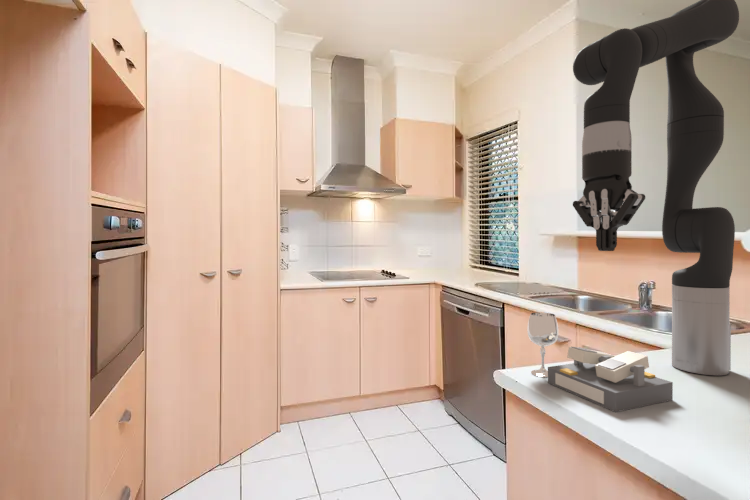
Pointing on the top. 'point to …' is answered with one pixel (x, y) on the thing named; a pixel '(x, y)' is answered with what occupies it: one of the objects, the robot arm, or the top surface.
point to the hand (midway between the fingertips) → (606, 250)
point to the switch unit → (611, 386)
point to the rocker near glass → (586, 355)
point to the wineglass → (542, 335)
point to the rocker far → (620, 366)
